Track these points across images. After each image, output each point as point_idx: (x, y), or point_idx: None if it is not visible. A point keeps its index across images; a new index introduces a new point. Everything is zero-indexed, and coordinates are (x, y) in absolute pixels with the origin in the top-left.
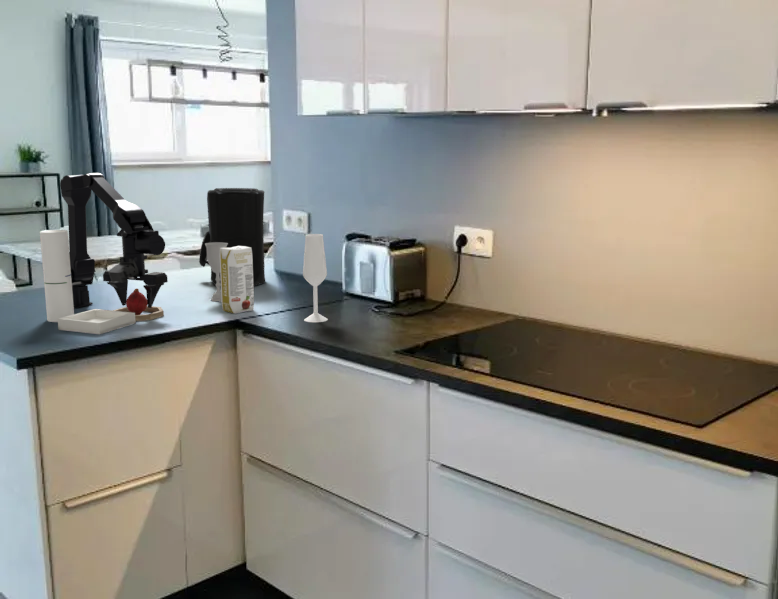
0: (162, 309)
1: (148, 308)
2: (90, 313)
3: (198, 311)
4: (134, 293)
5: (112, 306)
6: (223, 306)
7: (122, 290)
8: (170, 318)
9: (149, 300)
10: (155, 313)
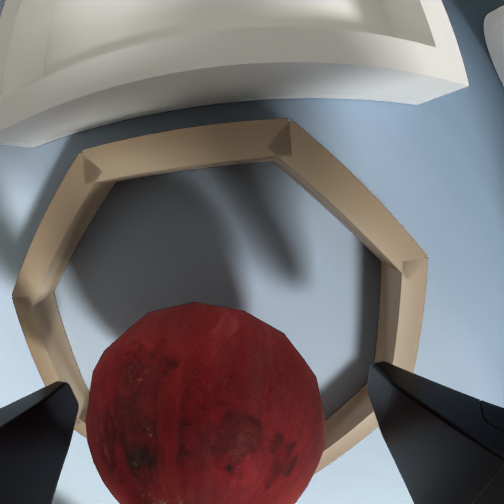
0: None
1: None
2: (406, 2)
3: (70, 485)
4: (156, 499)
5: (495, 401)
6: None
7: (454, 483)
8: (8, 360)
9: (3, 408)
10: (31, 350)
